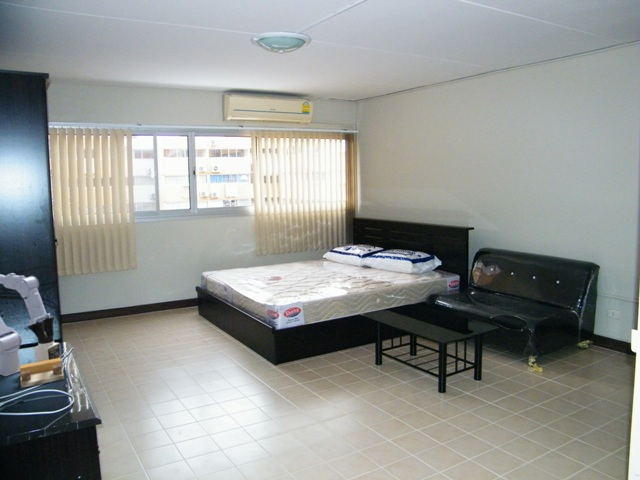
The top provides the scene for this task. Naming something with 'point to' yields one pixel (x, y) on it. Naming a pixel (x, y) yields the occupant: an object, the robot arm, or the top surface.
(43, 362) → the amber bar
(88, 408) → the top surface
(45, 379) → the display stand
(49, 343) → the medicine bottle
